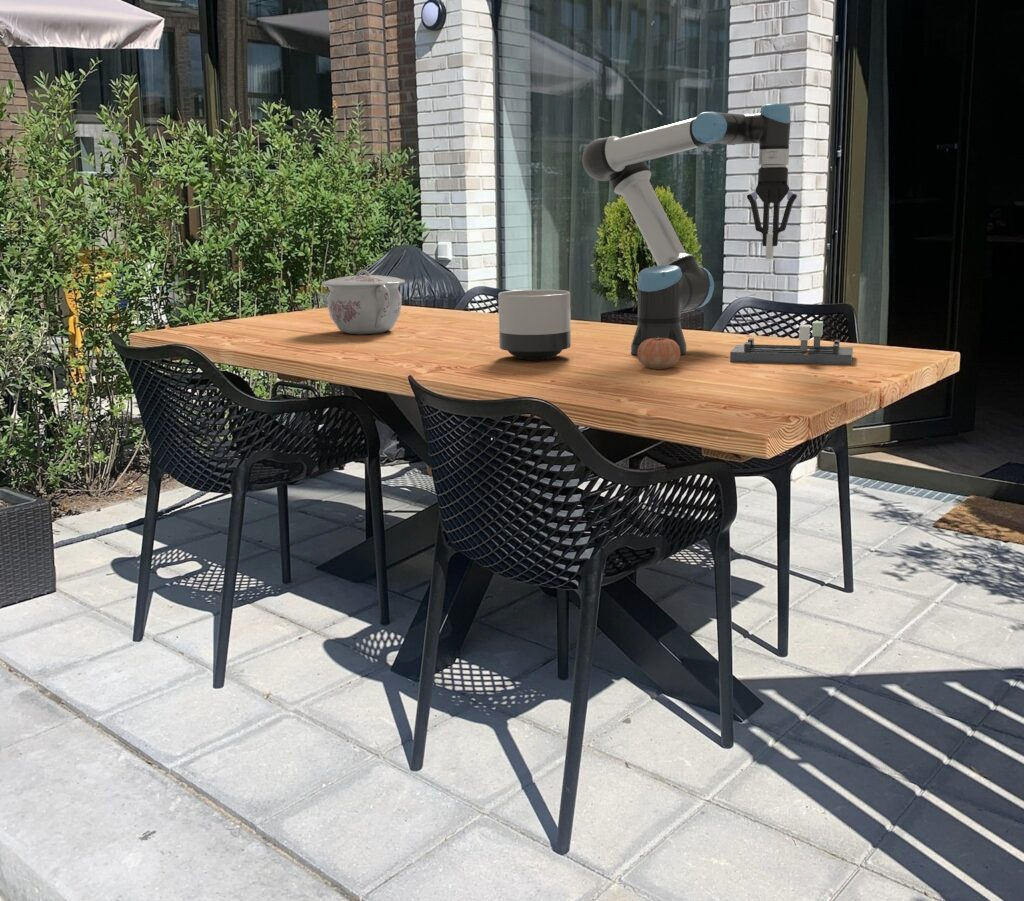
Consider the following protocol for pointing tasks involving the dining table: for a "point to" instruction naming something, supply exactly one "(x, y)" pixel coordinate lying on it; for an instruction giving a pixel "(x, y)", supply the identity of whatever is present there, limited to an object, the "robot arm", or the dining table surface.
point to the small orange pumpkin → (658, 353)
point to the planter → (534, 323)
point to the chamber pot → (364, 302)
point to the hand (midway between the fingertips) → (769, 258)
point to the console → (792, 354)
